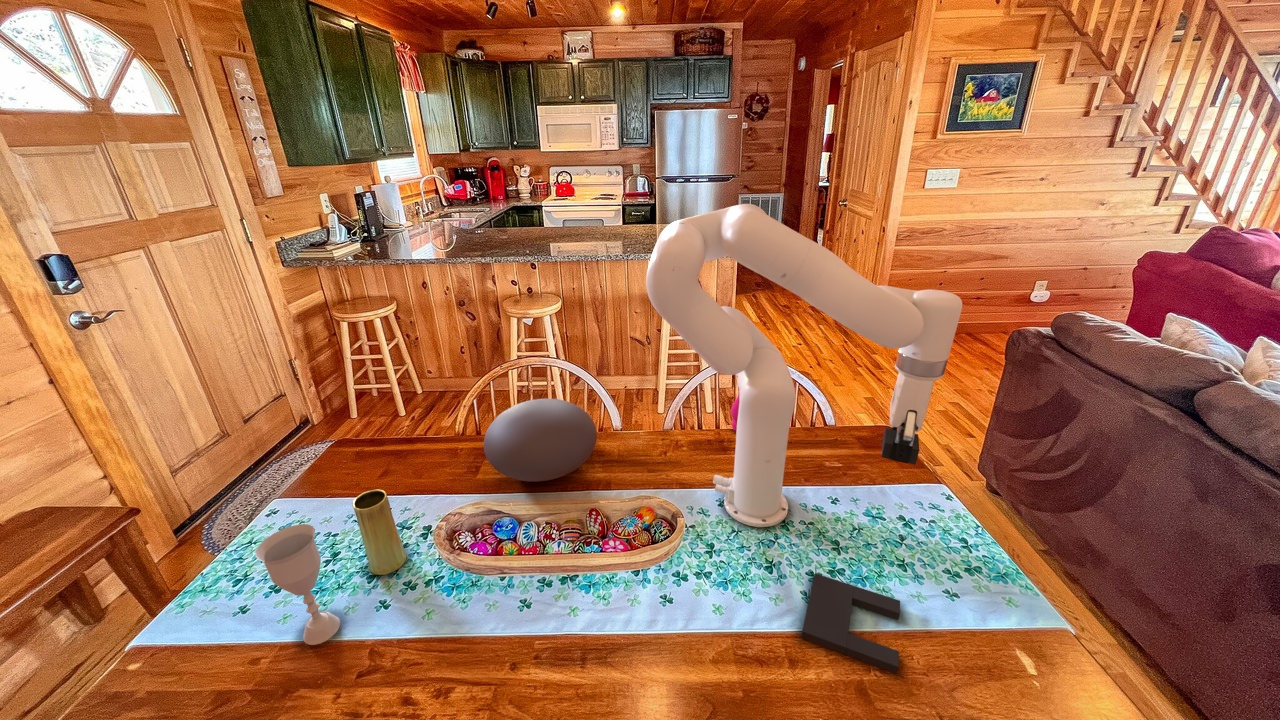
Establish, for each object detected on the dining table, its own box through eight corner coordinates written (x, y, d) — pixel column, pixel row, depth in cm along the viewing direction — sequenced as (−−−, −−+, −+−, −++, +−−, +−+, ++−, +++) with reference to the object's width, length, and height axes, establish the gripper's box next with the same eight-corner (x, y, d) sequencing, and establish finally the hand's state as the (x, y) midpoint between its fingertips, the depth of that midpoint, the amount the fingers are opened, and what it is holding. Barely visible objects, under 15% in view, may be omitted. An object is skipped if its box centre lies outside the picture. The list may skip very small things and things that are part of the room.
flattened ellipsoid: (512, 433, 130) (504, 381, 123) (608, 438, 126) (605, 385, 120) (469, 496, 107) (457, 436, 101) (584, 505, 104) (579, 444, 98)
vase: (414, 555, 93) (397, 493, 87) (386, 580, 88) (366, 515, 82) (390, 545, 95) (372, 484, 89) (362, 569, 90) (340, 505, 84)
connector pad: (881, 457, 93) (884, 442, 92) (882, 441, 98) (885, 427, 96) (915, 465, 91) (919, 450, 89) (914, 448, 95) (918, 434, 94)
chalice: (309, 659, 75) (269, 569, 67) (285, 637, 78) (245, 549, 70) (357, 621, 80) (325, 534, 73) (333, 603, 84) (300, 518, 76)
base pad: (800, 638, 76) (802, 631, 76) (813, 579, 86) (814, 572, 85) (896, 674, 71) (898, 667, 70) (898, 607, 81) (900, 600, 80)
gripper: (896, 341, 95) (877, 424, 103) (896, 379, 81) (874, 472, 88) (941, 348, 92) (919, 432, 100) (950, 388, 78) (923, 483, 86)
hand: (898, 450), depth 94 cm, fingers closed on connector pad, 5 cm apart
